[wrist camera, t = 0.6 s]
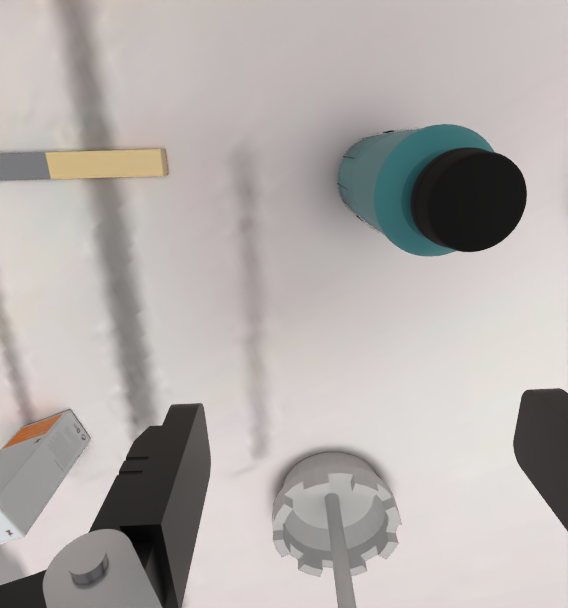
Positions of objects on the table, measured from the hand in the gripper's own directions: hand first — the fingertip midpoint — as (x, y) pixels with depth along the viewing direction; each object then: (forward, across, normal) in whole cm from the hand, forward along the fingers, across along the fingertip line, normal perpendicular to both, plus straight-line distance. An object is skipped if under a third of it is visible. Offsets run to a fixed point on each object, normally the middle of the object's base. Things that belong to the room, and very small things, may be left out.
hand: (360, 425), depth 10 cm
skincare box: (+27, +27, +20) cm, 43 cm away
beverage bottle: (+28, -6, -4) cm, 28 cm away
